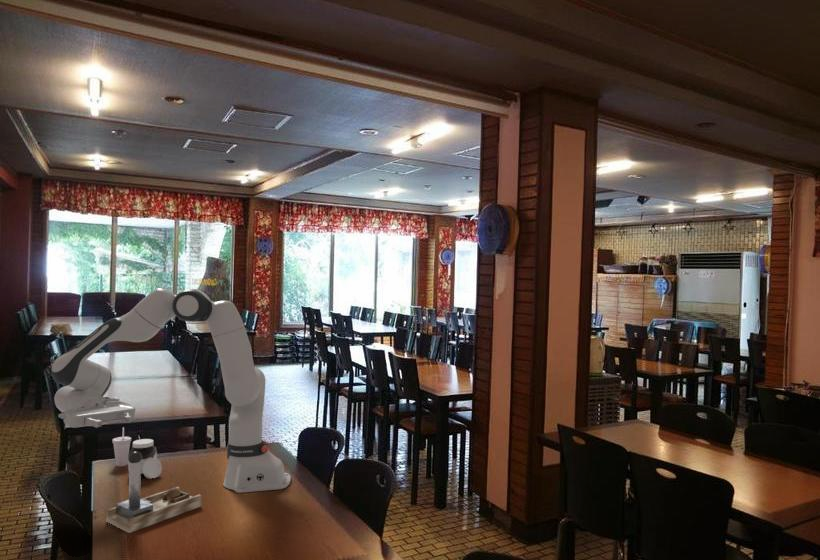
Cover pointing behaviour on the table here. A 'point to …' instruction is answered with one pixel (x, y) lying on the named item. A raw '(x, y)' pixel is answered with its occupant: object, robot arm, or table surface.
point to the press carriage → (134, 491)
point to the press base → (155, 511)
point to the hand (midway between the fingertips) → (114, 422)
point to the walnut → (173, 494)
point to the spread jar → (147, 458)
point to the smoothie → (121, 449)
